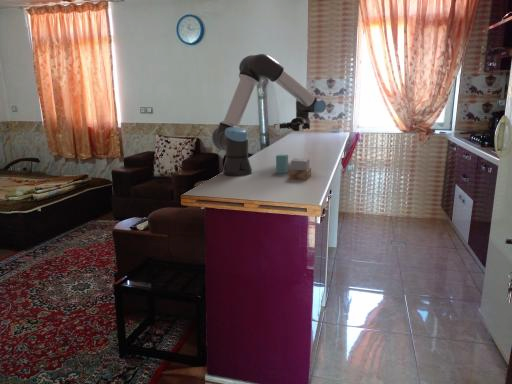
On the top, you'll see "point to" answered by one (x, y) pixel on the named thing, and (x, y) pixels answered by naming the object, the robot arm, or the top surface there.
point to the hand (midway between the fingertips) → (287, 128)
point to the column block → (281, 163)
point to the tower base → (300, 174)
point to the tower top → (300, 164)
